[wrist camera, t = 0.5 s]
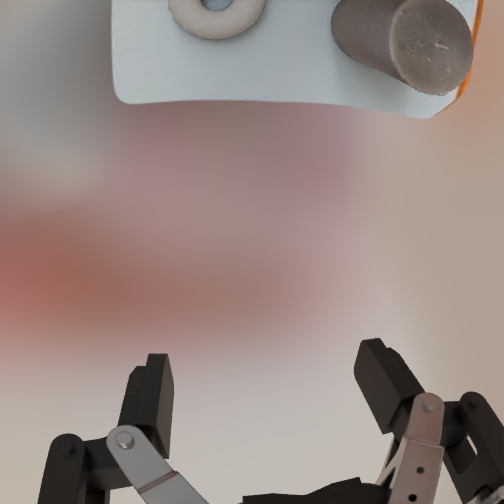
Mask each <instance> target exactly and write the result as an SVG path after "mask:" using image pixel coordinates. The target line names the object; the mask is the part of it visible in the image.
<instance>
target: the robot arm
mask: <svg viewBox="0 0 504 504" xmlns="http://www.w3.org/2000/svg"><path fill="white" fill-rule="evenodd" d="M354 375H355V379H356V381H357V383H358V385H359V387H360V389H361V391H362V393H363V395H364V397H365V399H366V401H367V403H368V405H369V407H370V409H371V411H372V413H373V415H374V417H375V419H376V421H377V423H378V426H379V428H380V430H381V432H382V434H387V433H390V432H393V434H394V437H393V439H392V442H391V445H390V448H389V451H388V454H387V457H386V460H385V463H384V466H383V468H382V471H381V474H380V476H379V478H378V479H377V481H376V483H375V484H371V483H361V480H360V478H359V477H356V478H352V479H348V480H344V481H340V482H336V483H332V484H330V485H328V486H325V487H323V488H321V489H319V490H316V491H314V492H312V493H309V494H307V495H289V494H276V493H271V494H262V495H252V496H251V495H250V496H243V502H242V503H239V504H433V500H434V497H435V493H436V489H437V484H438V479H439V475H440V470H441V465H442V460H443V462H444V464H445V466H446V468H447V470H448V472H449V474H450V476H451V479H452V481H453V483H454V485H455V488H456V490H457V492H458V494H459V496H460V499H461V501H462V503H463V504H504V426H503V425H502V423H501V422H500V420H499V419H498V417H497V416H496V414H495V413H494V411H493V410H492V408H491V407H490V405H489V404H488V403H487V401H486V399H485V398H484V397H483V396H482V395H480V394H479V393H476V392H467V393H465V394H463V395H462V397H461V399H460V400H459V401H448V402H443V401H442V399H441V398H440V397H438V396H437V395H435V394H432V393H426V392H425V391H424V389H423V388H422V387H421V385H420V383H419V382H418V380H417V379H416V378H415V376H414V375H413V373H412V372H411V370H409V367H408V366H407V364H405V361H404V360H403V359H402V357H401V356H400V354H398V353H397V352H396V351H395V350H393V349H392V348H386V346H385V345H384V343H383V342H382V340H381V339H380V338H374V339H368V340H363V341H362V342H361V343H360V347H359V351H358V355H357V358H356V362H355V365H354ZM125 393H126V394H125V396H124V400H123V404H122V409H121V413H120V417H119V421H118V425H117V427H116V428H114V429H113V430H111V431H110V433H109V434H108V436H106V437H104V438H100V439H96V440H89V441H82V439H81V438H80V437H78V436H77V435H74V434H62V435H59V436H58V437H56V438H55V439H54V440H53V441H52V443H51V446H50V449H49V453H48V457H47V461H46V465H45V470H44V474H43V478H42V484H41V488H40V493H39V498H38V504H109V501H110V490H111V489H118V488H124V487H129V486H133V487H134V488H135V489H136V490H137V492H138V493H139V495H140V496H141V497H142V499H143V500H144V501H145V503H146V504H209V503H208V502H207V501H206V500H205V499H204V498H203V497H202V496H201V495H200V494H199V493H198V492H197V491H196V490H195V489H194V488H193V487H192V486H191V485H190V484H189V483H188V482H187V481H186V479H185V478H184V477H183V476H182V475H181V474H180V473H179V472H177V471H174V470H173V469H172V468H171V467H170V466H169V465H168V463H167V462H166V461H165V460H164V459H169V450H170V435H171V423H172V411H173V399H174V382H173V377H172V372H171V367H170V363H169V358H168V354H149V355H148V358H147V363H146V366H137V367H136V368H135V369H134V370H133V371H132V373H131V374H130V376H129V380H128V383H127V387H126V392H125ZM468 435H469V437H470V438H471V440H472V442H473V444H474V445H475V447H476V449H477V456H476V454H475V452H474V450H473V448H472V446H471V445H470V443H469V441H468V439H467V437H468Z"/></svg>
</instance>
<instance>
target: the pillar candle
mask: <svg viewBox="0 0 504 504" xmlns="http://www.w3.org/2000/svg"><path fill="white" fill-rule="evenodd" d="M331 26H332V33H333V36H334V38H335V41H336V43H337V44H338V46H339V47H340V48H341V50H342V51H343V52H344V53H346V54H347V55H348V56H350V57H351V58H353V59H355V60H357V61H359V62H361V63H363V64H366V65H368V66H370V67H372V68H374V69H377V70H379V71H381V72H383V73H385V74H387V75H390V76H392V77H394V78H396V79H398V80H400V81H402V82H404V83H406V84H407V85H409V86H411V87H412V88H414V89H416V90H418V91H419V92H423V93H426V94H429V95H439V96H443V95H446V94H447V93H448V92H449V91H451V90H453V89H455V88H456V87H457V86H459V85H460V84H461V83H462V82H463V80H464V79H465V78H466V76H467V74H468V72H469V71H470V69H471V66H472V61H473V39H472V35H471V31H470V29H469V26H468V25H467V23H466V21H465V18H464V17H463V16H462V15H461V13H460V12H459V11H458V10H457V9H456V8H455V7H454V6H453V5H451V4H450V3H449V2H448V1H446V0H341V1H340V2H339V3H338V5H337V6H336V8H335V10H334V12H333V15H332V21H331Z"/></svg>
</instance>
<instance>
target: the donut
mask: <svg viewBox="0 0 504 504" xmlns="http://www.w3.org/2000/svg"><path fill="white" fill-rule="evenodd" d="M264 5H265V0H233V1H232V3H231V5H230V6H229V7H227V8H226V9H224V10H221V11H212V10H209V9H207V8H205V7H204V6H203V4H202V2H201V0H169V10H170V12H171V14H172V16H173V19H174V21H175V22H176V23H177V24H178V25H179V26H180V27H181V28H182V29H183V30H185V31H187V32H189V33H191V34H192V35H194V36H196V37H201V38H206V39H226V38H229V37H232V36H235V35H238V34H240V33H242V32H243V31H245V30H246V29H248V28H249V27H251V26H252V25H253V24H254V23H255V22H256V20H257V19H258V18H259V17H260V16H261V13H262V11H263V8H264Z"/></svg>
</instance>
